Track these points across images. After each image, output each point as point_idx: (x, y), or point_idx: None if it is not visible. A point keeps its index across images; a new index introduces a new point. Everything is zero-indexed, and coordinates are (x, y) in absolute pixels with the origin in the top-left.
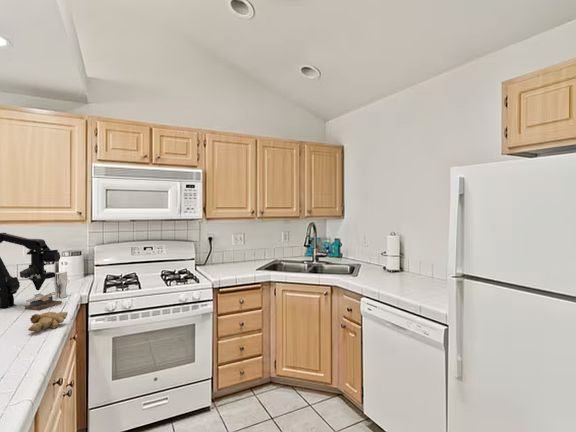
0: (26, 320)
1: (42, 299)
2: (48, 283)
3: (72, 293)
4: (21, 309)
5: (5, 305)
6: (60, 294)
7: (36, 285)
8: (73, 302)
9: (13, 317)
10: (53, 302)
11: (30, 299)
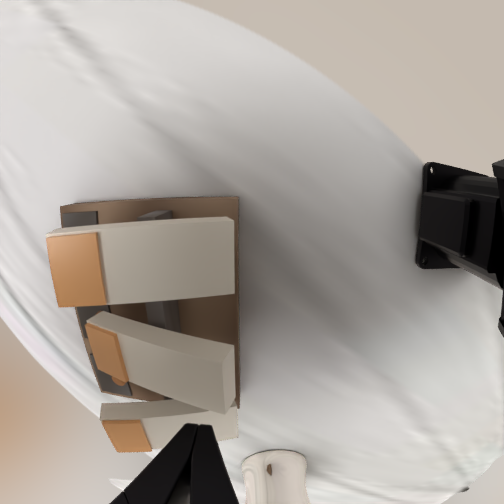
0: (11, 55)
1: (109, 320)
2: (465, 475)
3: None
4: (262, 178)
5: (449, 187)
6: (254, 476)
7: (167, 488)
8: (83, 402)
9: (111, 26)
10: None
11: (142, 224)
